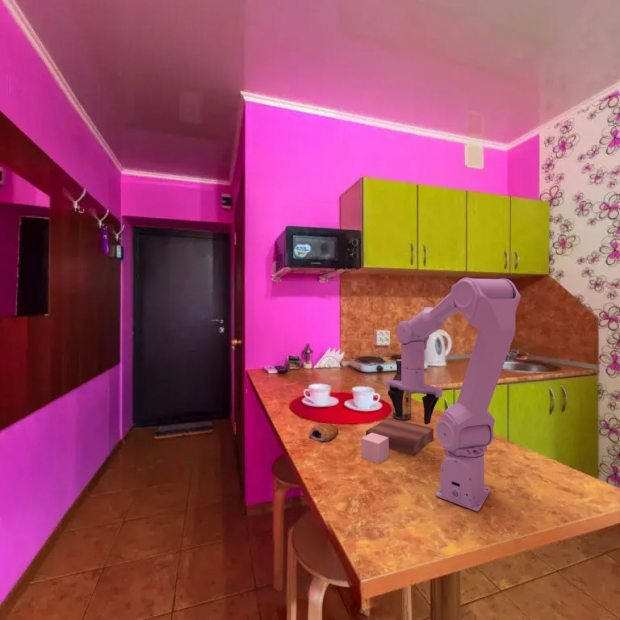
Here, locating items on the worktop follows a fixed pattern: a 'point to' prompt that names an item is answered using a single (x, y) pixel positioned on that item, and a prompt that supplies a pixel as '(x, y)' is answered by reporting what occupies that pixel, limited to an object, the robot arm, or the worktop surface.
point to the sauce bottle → (406, 396)
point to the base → (403, 435)
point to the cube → (375, 447)
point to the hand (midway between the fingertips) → (412, 419)
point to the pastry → (323, 432)
